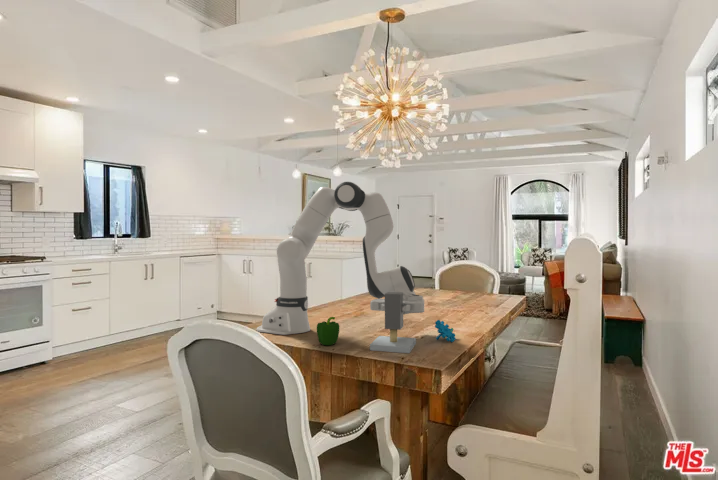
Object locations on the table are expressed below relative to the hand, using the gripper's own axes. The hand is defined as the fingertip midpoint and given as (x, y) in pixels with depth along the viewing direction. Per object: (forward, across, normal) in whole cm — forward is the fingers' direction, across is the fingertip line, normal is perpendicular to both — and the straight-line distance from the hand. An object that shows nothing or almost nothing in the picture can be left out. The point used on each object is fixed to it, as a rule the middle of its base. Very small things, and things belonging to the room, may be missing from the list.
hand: (393, 308), depth 161 cm
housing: (-1, 0, +7) cm, 7 cm away
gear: (-16, +17, +14) cm, 27 cm away
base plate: (-1, 0, +14) cm, 14 cm away
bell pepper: (+2, -24, +14) cm, 28 cm away
